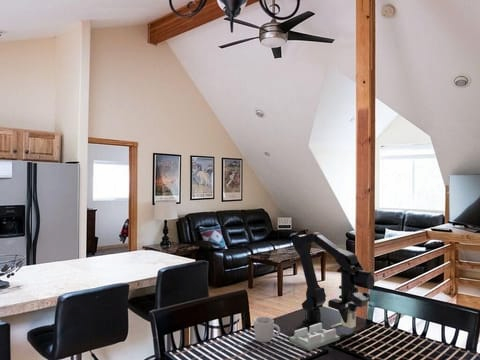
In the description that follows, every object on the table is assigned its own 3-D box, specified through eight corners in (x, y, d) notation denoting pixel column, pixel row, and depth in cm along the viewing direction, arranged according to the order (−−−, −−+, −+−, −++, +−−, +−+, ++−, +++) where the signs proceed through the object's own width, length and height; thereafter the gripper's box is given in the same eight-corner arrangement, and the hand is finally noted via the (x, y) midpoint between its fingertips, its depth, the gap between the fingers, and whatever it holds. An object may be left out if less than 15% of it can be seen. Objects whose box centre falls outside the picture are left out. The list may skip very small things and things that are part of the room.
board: (289, 340, 152) (289, 329, 152) (319, 330, 162) (319, 320, 162) (309, 350, 143) (309, 339, 143) (339, 339, 153) (339, 328, 153)
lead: (332, 328, 165) (332, 326, 165) (330, 327, 166) (330, 325, 166) (345, 324, 170) (345, 321, 170) (343, 323, 171) (343, 321, 171)
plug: (340, 324, 160) (340, 310, 160) (345, 322, 162) (345, 308, 162) (351, 328, 156) (351, 313, 156) (356, 326, 158) (356, 312, 158)
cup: (283, 339, 153) (283, 319, 153) (276, 347, 146) (276, 326, 146) (258, 334, 158) (258, 315, 158) (250, 342, 151) (250, 321, 151)
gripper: (349, 292, 147) (349, 333, 147) (378, 284, 158) (378, 322, 158) (327, 286, 156) (327, 324, 156) (356, 279, 167) (356, 315, 167)
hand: (348, 321), depth 159 cm, fingers closed on plug, 3 cm apart
